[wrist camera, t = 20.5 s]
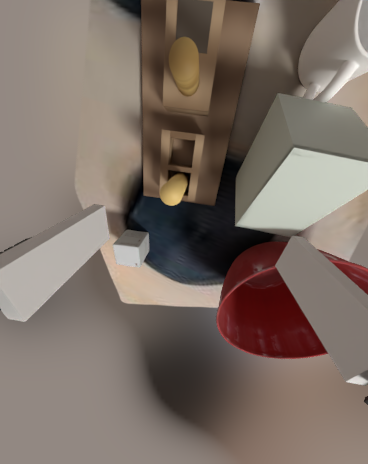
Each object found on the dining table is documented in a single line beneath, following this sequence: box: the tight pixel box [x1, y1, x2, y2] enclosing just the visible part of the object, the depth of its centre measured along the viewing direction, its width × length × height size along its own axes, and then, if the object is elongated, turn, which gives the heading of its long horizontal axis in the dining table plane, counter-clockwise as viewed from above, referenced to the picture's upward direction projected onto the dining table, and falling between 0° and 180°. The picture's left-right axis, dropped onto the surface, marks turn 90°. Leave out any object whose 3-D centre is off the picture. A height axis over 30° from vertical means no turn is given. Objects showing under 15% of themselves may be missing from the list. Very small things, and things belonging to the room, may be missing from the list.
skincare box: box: [113, 230, 149, 267], centre depth 38 cm, size 6×6×7 cm
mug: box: [298, 0, 368, 103], centre depth 19 cm, size 12×8×10 cm
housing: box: [235, 93, 368, 237], centre depth 22 cm, size 14×10×12 cm
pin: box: [160, 172, 189, 206], centre depth 26 cm, size 3×3×12 cm
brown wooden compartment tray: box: [141, 0, 260, 206], centre depth 23 cm, size 28×16×11 cm, turn 173°
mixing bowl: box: [216, 242, 368, 359], centre depth 34 cm, size 28×28×16 cm
